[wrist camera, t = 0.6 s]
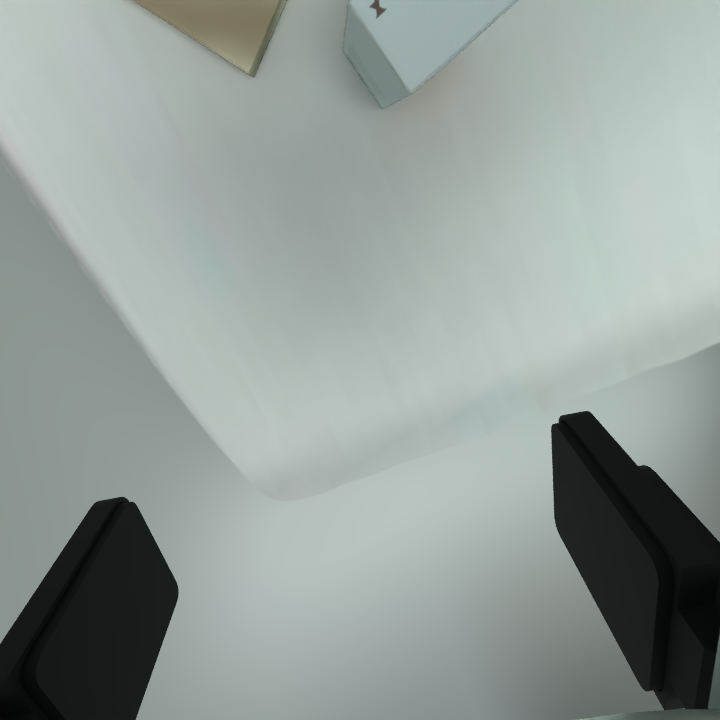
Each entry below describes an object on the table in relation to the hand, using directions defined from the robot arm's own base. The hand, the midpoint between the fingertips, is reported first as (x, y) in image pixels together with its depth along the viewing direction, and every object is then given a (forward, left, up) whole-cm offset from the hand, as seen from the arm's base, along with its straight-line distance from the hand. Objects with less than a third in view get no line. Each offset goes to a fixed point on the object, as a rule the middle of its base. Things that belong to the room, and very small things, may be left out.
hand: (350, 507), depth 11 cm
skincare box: (-13, -3, -26) cm, 29 cm away
